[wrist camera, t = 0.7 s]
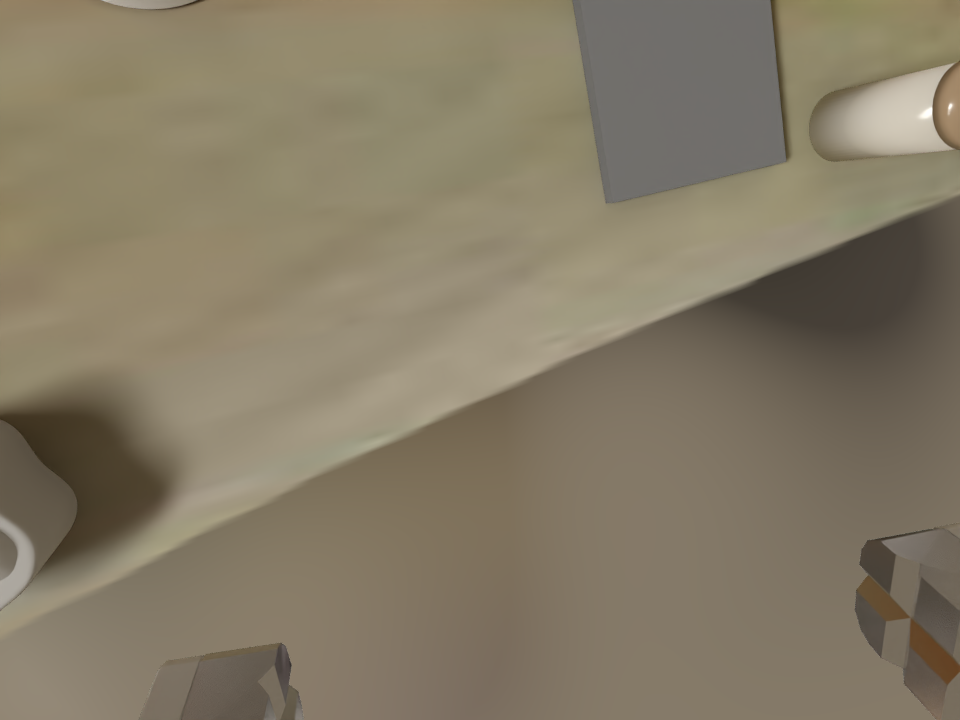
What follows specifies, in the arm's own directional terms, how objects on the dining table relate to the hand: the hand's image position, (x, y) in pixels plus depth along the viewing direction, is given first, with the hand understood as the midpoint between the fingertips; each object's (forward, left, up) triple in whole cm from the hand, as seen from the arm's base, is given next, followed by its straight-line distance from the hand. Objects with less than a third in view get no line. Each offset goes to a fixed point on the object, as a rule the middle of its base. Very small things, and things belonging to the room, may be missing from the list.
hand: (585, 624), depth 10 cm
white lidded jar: (-4, +38, -40) cm, 55 cm away
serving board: (-10, +25, -40) cm, 48 cm away
